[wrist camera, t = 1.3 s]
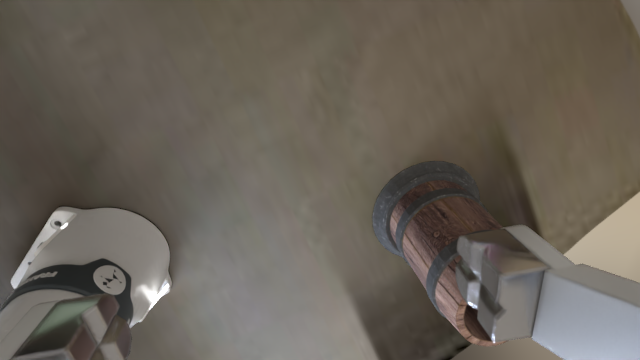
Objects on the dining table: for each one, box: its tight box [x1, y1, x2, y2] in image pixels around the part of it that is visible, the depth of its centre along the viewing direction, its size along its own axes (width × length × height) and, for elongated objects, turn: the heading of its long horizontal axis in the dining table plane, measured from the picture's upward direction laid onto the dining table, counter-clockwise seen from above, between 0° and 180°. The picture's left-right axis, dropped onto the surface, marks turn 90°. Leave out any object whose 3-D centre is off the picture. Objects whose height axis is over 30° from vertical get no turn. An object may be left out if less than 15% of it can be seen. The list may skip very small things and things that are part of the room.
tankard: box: [373, 161, 509, 346], centre depth 44 cm, size 24×17×20 cm
